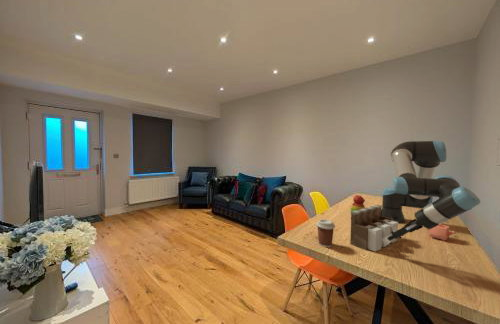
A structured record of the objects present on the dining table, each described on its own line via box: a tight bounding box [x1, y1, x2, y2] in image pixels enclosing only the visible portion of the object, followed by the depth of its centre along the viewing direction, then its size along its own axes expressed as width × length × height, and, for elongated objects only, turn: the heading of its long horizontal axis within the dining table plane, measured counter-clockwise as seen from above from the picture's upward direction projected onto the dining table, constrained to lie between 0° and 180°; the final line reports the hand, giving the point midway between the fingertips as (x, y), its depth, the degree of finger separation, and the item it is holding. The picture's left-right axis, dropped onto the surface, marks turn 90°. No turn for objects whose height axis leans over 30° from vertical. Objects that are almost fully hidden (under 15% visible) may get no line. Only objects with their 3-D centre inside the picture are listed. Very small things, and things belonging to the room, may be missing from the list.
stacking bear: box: [350, 194, 366, 213], centre depth 143 cm, size 11×10×18 cm
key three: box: [365, 225, 382, 253], centre depth 101 cm, size 6×6×10 cm
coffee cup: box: [315, 219, 336, 248], centre depth 105 cm, size 9×9×12 cm
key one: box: [382, 219, 399, 244], centre depth 110 cm, size 6×6×10 cm
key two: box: [374, 222, 391, 248], centre depth 106 cm, size 6×6×10 cm
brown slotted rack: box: [349, 204, 393, 251], centre depth 109 cm, size 28×8×17 cm, turn 123°
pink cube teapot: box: [426, 223, 457, 242], centre depth 113 cm, size 8×12×8 cm, turn 36°
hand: (384, 241), depth 96 cm, fingers closed
